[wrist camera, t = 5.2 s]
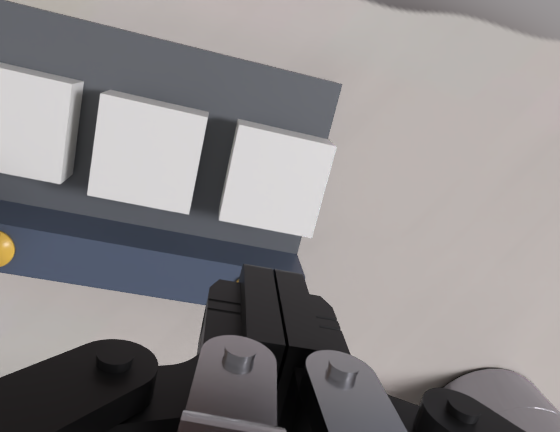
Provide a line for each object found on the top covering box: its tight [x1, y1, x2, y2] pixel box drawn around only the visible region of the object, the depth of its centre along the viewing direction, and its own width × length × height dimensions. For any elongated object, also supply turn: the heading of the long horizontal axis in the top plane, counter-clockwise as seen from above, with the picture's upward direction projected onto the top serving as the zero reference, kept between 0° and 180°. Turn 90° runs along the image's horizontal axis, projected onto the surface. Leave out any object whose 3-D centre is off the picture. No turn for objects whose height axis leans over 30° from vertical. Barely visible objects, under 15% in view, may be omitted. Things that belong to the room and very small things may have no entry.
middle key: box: [87, 90, 209, 215], centre depth 23 cm, size 5×5×2 cm
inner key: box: [219, 119, 337, 238], centre depth 24 cm, size 5×5×2 cm
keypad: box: [0, 0, 342, 305], centre depth 25 cm, size 17×12×5 cm
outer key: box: [0, 62, 84, 184], centre depth 23 cm, size 5×5×2 cm
